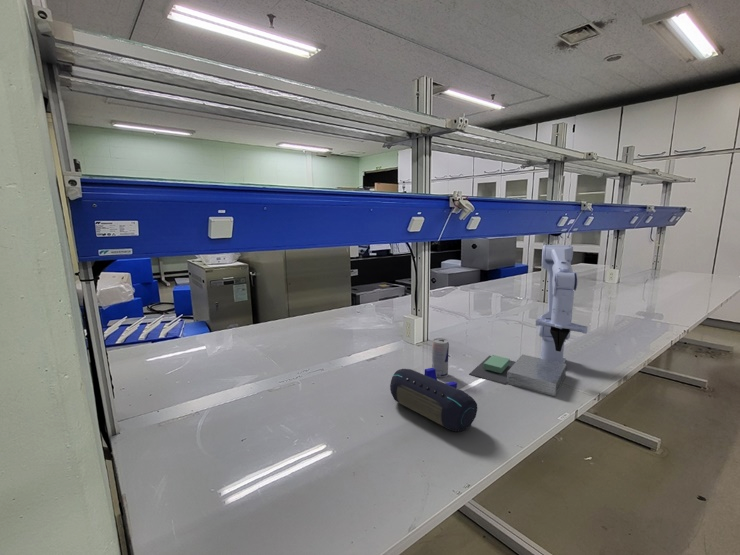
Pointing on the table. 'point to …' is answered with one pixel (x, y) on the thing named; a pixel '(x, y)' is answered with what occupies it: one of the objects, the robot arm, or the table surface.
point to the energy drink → (440, 357)
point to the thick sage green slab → (496, 363)
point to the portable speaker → (433, 399)
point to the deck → (537, 374)
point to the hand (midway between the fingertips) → (558, 350)
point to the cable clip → (431, 373)
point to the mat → (491, 373)
